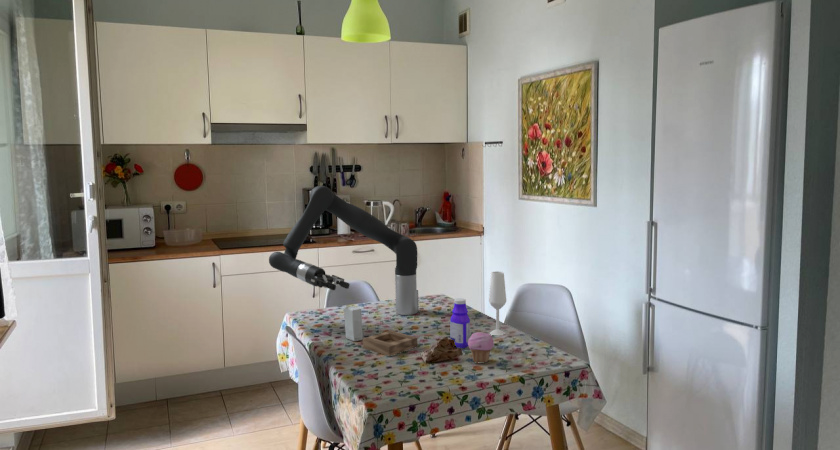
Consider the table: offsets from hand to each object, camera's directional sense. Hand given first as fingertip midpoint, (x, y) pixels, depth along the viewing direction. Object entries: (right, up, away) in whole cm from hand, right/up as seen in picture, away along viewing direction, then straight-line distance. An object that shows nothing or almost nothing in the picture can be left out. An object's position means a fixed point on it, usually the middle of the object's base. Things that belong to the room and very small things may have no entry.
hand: (342, 287), depth 248 cm
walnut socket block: (+19, -20, -15) cm, 32 cm away
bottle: (+45, -20, -15) cm, 51 cm away
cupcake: (+51, -22, -32) cm, 64 cm away
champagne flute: (+60, -18, -1) cm, 63 cm away
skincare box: (+5, -19, -4) cm, 21 cm away
